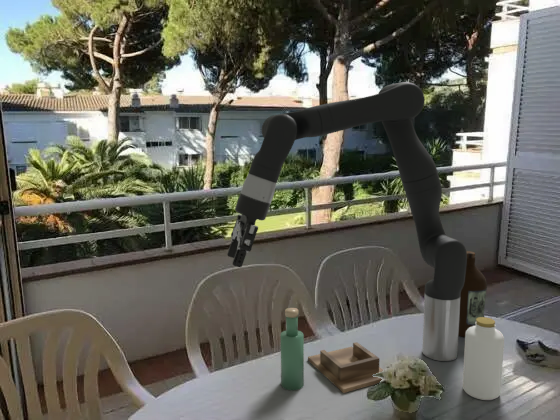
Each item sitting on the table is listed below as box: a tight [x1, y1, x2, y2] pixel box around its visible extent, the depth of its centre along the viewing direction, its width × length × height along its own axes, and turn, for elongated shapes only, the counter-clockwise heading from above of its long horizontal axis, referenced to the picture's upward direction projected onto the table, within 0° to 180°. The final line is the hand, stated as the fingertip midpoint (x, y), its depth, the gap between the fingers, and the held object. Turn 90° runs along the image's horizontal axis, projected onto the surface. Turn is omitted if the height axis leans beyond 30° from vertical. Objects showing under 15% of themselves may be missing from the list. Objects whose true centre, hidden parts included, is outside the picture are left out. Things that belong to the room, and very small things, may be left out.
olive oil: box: [458, 250, 488, 338], centre depth 143 cm, size 11×11×25 cm
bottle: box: [279, 307, 305, 391], centre depth 115 cm, size 6×6×19 cm
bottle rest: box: [307, 342, 384, 394], centre depth 122 cm, size 18×14×4 cm
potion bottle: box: [462, 316, 505, 401], centre depth 110 cm, size 8×8×18 cm
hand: (233, 261), depth 111 cm, fingers open, 8 cm apart
